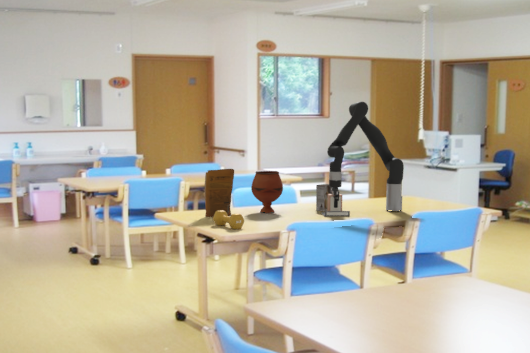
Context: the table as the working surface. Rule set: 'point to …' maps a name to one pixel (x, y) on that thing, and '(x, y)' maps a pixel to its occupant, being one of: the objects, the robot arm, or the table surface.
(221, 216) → the dumbbell
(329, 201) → the shelf carton
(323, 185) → the coffee box
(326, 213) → the shelf board
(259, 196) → the goblet
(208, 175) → the pancake mix bag
